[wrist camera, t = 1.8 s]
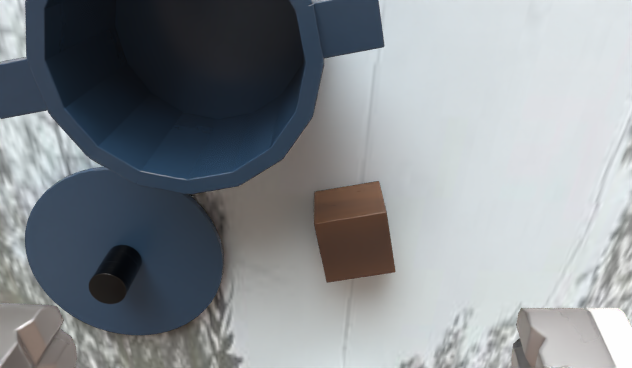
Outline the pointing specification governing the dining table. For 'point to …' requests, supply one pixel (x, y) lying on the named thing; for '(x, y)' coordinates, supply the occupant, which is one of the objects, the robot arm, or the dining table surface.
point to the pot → (182, 80)
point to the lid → (123, 253)
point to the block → (353, 232)
